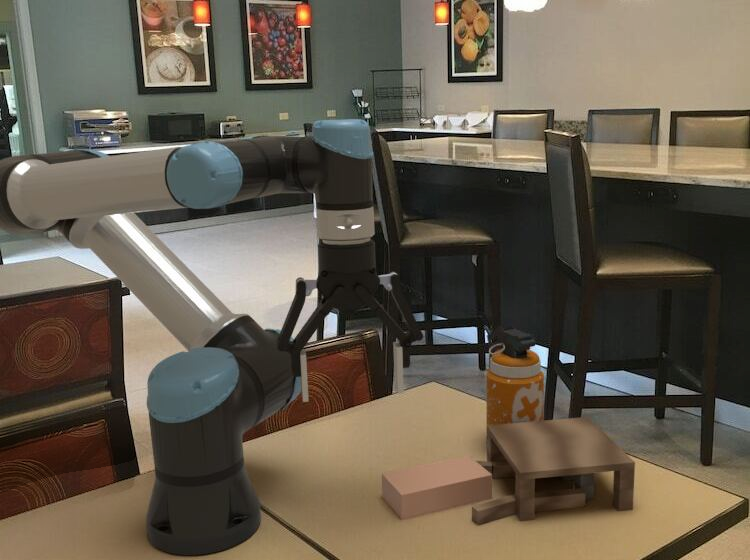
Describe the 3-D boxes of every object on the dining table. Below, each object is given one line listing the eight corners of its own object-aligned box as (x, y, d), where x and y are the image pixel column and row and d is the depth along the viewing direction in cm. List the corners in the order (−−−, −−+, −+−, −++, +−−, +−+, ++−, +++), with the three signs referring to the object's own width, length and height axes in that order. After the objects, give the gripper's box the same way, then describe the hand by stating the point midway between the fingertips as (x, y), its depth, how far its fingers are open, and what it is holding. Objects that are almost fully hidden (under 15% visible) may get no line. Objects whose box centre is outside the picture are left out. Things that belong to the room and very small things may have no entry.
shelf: (474, 525, 105) (474, 477, 104) (447, 471, 121) (446, 428, 119) (632, 509, 108) (635, 462, 107) (586, 458, 124) (587, 416, 122)
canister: (506, 464, 123) (507, 341, 118) (469, 438, 132) (469, 323, 128) (553, 453, 126) (556, 332, 122) (514, 428, 136) (515, 316, 132)
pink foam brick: (402, 522, 108) (401, 495, 107) (382, 499, 114) (381, 473, 113) (492, 500, 113) (492, 474, 112) (468, 479, 119) (468, 455, 118)
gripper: (252, 249, 98) (263, 412, 103) (444, 238, 102) (446, 395, 107) (251, 240, 106) (261, 392, 110) (430, 229, 109) (433, 377, 114)
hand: (352, 394), depth 108 cm, fingers open, 12 cm apart
